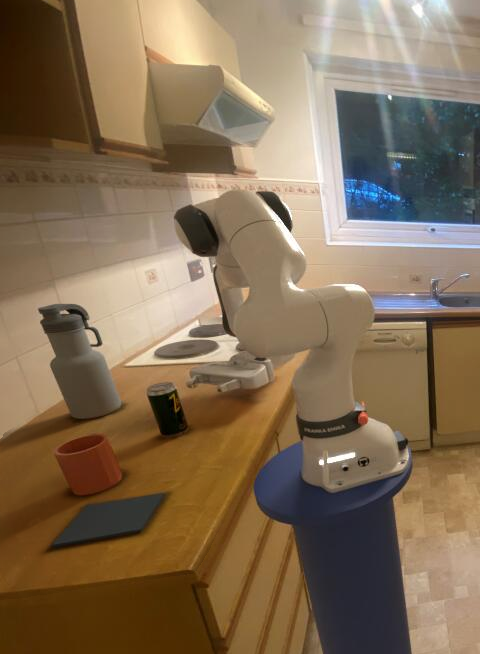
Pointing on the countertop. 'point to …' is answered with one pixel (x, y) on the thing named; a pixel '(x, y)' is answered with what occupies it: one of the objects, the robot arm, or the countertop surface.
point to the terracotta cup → (88, 464)
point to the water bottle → (79, 362)
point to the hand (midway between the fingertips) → (203, 387)
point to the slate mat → (110, 519)
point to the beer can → (167, 409)
